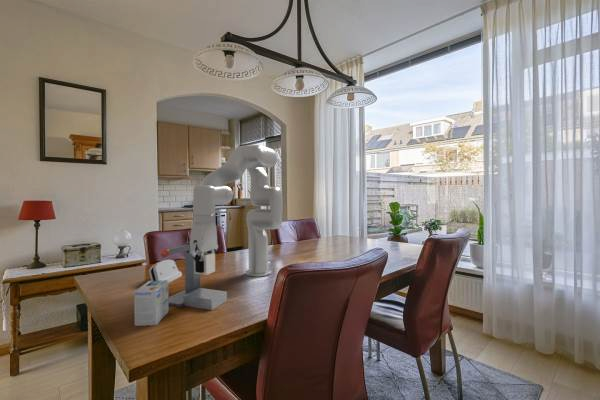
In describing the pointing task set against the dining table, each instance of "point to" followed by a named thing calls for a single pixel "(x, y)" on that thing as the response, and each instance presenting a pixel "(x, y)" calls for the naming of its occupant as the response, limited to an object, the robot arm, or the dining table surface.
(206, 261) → the block
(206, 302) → the frame
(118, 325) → the dining table surface
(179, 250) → the lever
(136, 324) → the light bulb box
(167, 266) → the white slotted curved casing
